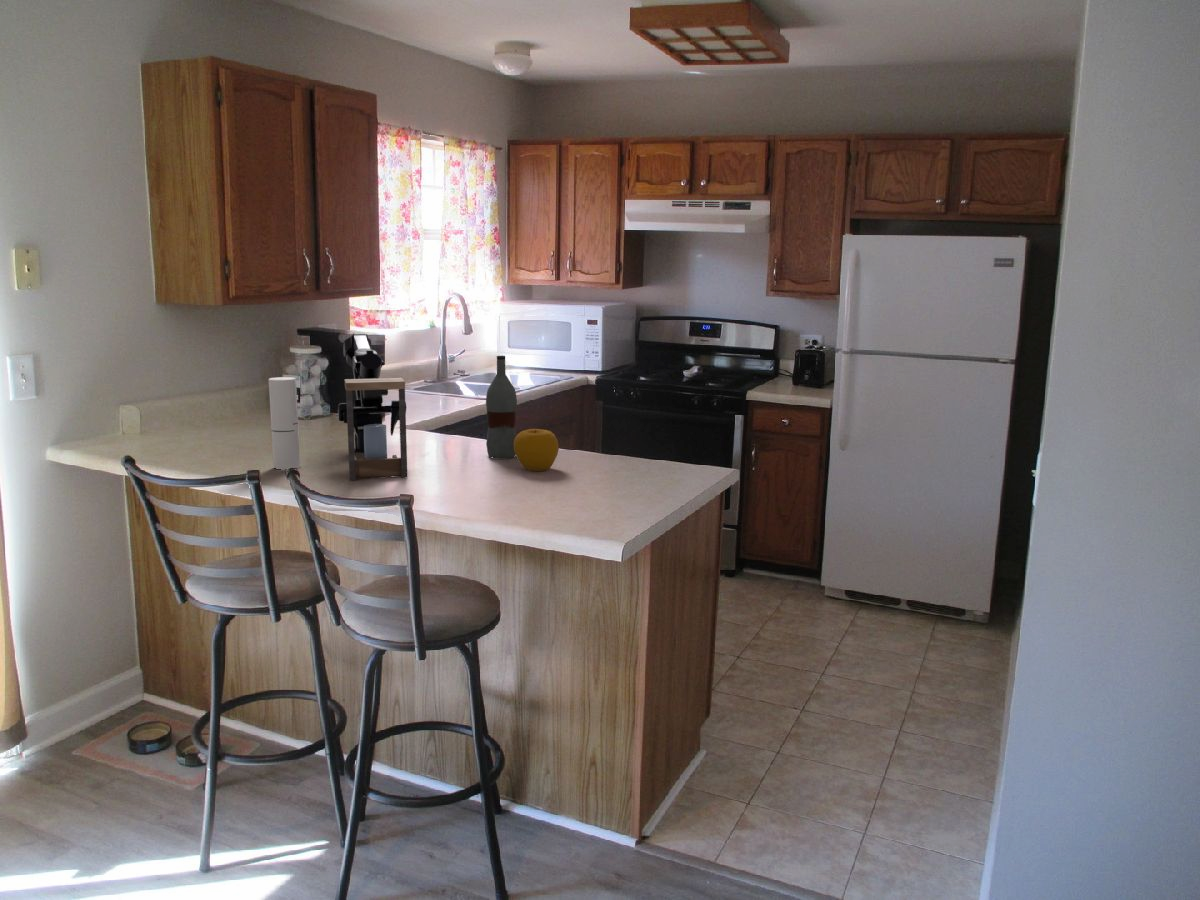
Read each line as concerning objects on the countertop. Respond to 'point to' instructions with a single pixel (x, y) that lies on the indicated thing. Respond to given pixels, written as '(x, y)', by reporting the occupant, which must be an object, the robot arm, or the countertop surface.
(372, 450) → the blue-grey tall cylinder
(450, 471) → the countertop surface
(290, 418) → the cylindrical container
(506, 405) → the bottle
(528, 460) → the apple
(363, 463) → the shelf bay
